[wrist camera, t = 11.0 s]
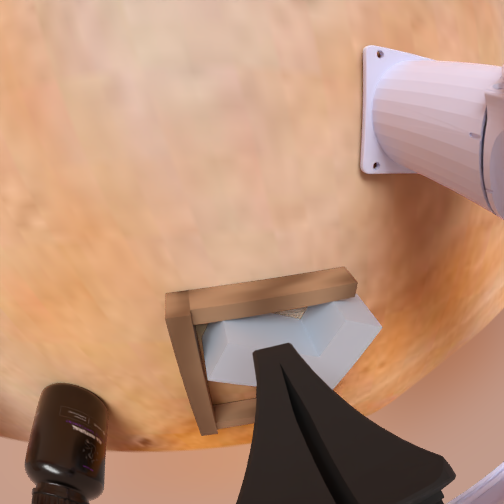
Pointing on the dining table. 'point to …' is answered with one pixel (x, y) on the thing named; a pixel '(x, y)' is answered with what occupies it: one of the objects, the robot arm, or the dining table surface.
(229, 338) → the tee block
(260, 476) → the robot arm
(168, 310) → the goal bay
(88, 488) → the supplement bottle
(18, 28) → the dining table surface
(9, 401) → the dining table surface
